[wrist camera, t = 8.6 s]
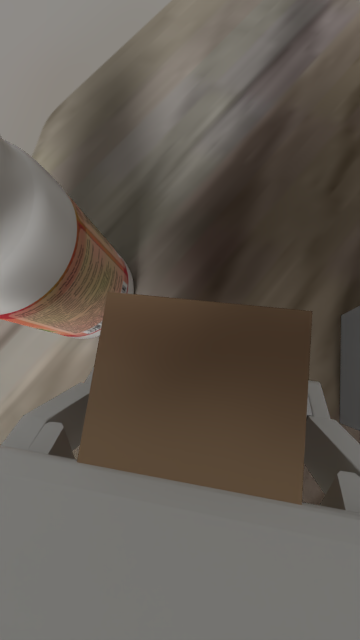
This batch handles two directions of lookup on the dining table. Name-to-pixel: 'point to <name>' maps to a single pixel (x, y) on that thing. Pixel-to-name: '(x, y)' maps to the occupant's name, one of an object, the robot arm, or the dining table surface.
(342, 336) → the slate grey base block
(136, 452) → the walnut block
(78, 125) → the dining table surface
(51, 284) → the fruit juice
